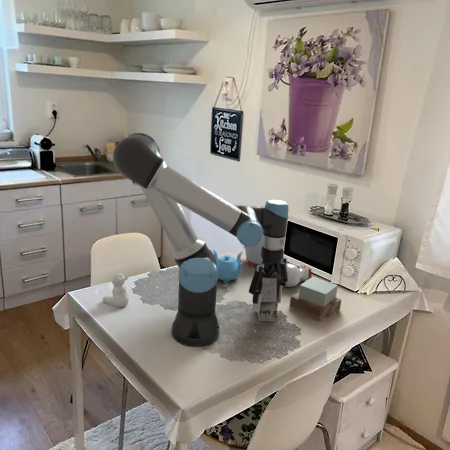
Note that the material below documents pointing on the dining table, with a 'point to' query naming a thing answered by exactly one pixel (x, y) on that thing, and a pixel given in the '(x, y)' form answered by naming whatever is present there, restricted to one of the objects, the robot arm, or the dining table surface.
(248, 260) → the citrus juicer
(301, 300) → the tower base
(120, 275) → the sitting furry creature
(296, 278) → the potion bottle
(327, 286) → the tower top
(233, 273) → the teapot
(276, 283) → the coffee box
